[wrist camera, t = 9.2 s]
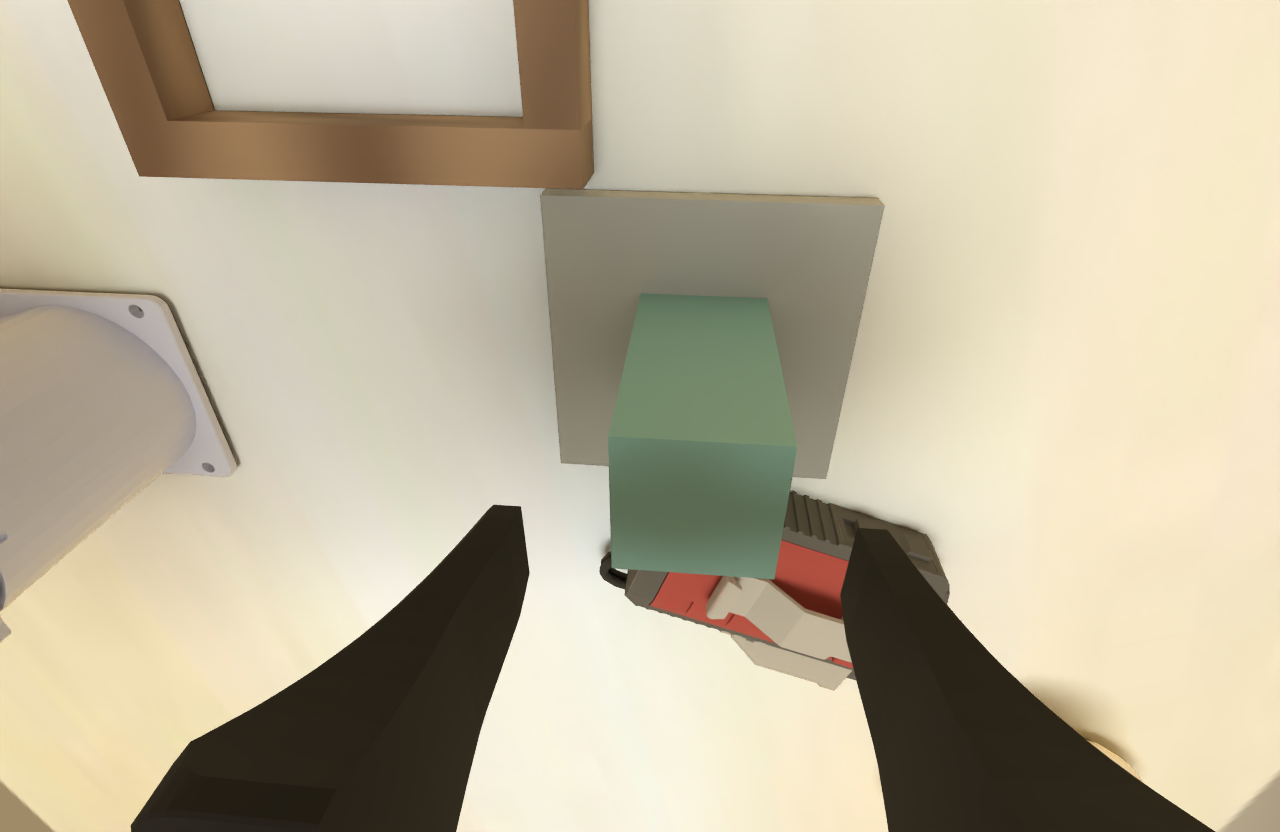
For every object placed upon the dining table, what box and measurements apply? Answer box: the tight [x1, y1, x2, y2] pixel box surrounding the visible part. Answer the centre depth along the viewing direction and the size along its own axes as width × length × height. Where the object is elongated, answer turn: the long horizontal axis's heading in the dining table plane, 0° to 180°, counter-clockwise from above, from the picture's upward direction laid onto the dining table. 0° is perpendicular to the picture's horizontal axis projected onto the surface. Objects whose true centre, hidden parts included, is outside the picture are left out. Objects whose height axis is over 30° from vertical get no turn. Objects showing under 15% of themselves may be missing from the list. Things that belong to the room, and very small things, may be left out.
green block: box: [608, 293, 797, 579], centre depth 18 cm, size 4×4×8 cm
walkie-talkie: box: [600, 491, 950, 690], centre depth 26 cm, size 9×4×20 cm
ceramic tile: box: [540, 189, 884, 479], centre depth 22 cm, size 10×10×1 cm
